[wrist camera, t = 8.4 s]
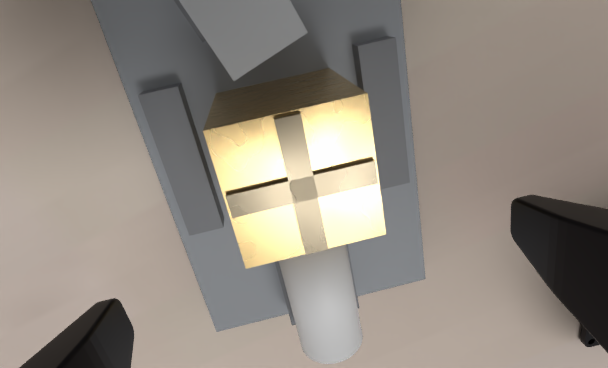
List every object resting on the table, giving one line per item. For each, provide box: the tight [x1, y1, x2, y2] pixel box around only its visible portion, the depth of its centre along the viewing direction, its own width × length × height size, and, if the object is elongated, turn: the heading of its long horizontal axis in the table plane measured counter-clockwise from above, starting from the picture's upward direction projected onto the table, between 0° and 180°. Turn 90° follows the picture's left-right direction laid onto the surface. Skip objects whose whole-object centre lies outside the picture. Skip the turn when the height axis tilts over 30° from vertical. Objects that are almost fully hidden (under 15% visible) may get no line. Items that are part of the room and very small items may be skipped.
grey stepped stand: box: [91, 0, 425, 364], centre depth 17 cm, size 20×12×6 cm, turn 11°
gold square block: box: [203, 68, 386, 269], centre depth 16 cm, size 5×5×6 cm
